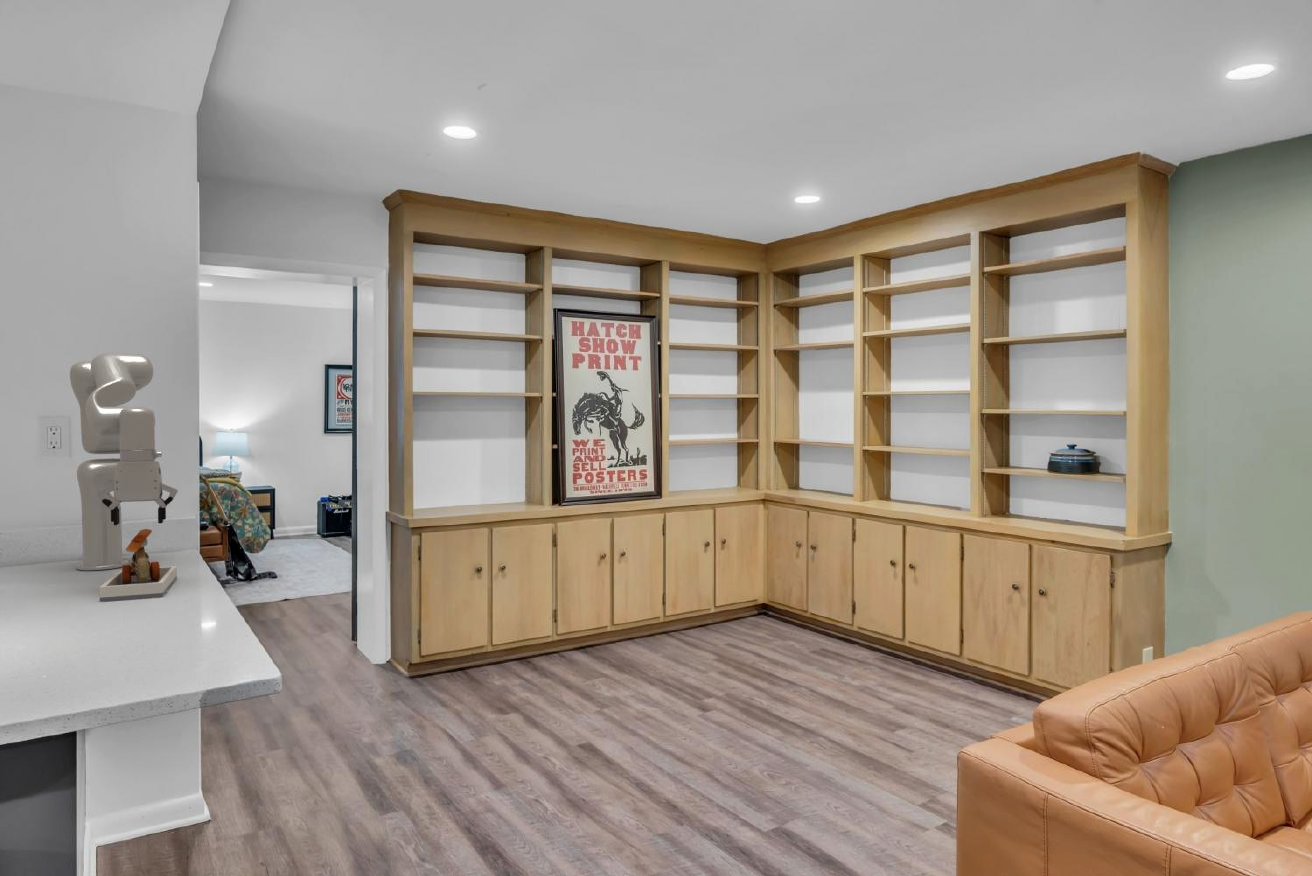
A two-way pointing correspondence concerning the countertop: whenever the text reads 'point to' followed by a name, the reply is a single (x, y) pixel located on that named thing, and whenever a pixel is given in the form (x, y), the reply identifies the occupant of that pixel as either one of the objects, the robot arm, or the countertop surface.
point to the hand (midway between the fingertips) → (138, 523)
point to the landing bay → (137, 586)
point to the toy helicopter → (140, 561)
